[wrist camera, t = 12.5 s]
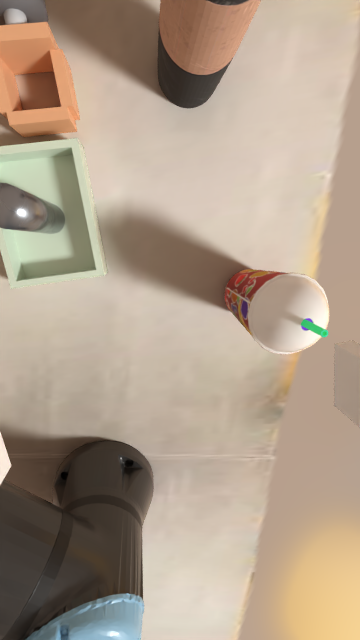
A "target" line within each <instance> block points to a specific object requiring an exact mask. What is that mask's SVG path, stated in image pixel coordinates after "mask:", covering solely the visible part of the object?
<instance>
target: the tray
mask: <svg viewBox="0 0 360 640" xmlns="http://www.w3.org/2000/svg"><path fill="white" fill-rule="evenodd" d="M0 183H7V184H11V185H13V186H15V187H17V188H19V189H22V190H24V191H26V192H28V193H30V194H33V195H35V196H37V197H39V198H41V199H44V200H46V201H48V202H50V203H52V204H55V205H57V206H58V207H59V208H60V209H61V210H62V211H63V213H64V216H65V225H64V227H63V229H62V230H61V231H59V232H58V233H55V234H46V233H37V232H28V231H19V230H10V229H3V228H0V251H1V255H2V259H3V262H4V266H5V269H6V273H7V276H8V280H9V284H10V287H11V289H14V288H21V287H28V286H35V285H42V284H49V283H56V282H63V281H70V280H77V279H84V278H91V277H98V276H104V275H105V274H106V273H107V266H106V261H105V256H104V251H103V246H102V240H101V235H100V230H99V225H98V219H97V214H96V209H95V204H94V199H93V193H92V188H91V183H90V178H89V172H88V167H87V162H86V157H85V152H84V147H83V146H82V144H81V143H80V141H79V140H78V138H73V139H64V140H55V141H45V142H36V143H27V144H17V145H8V146H0Z"/></svg>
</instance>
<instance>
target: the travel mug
mask: <svg viewBox="0 0 360 640" xmlns="http://www.w3.org/2000/svg"><path fill="white" fill-rule="evenodd" d="M260 2H261V0H161V4H160V15H159V37H158V79H159V83H160V86H161V88H162V90H163V92H164V94H165V95H166V97H167V98H168V99H169V100H170V101H171V102H173V103H174V104H176V105H177V106H180V107H183V108H194V107H197V106H200V105H202V104H203V103H205V102H206V101H207V100H208V99H209V98H210V96H211V95H212V94H213V92H214V90H215V89H216V87H217V85H218V83H219V82H220V80H221V78H222V76H223V75H224V73H225V71H226V69H227V67H228V66H229V64H230V62H231V60H232V59H233V57H234V55H235V53H236V51H237V49H238V47H239V45H240V43H241V41H242V39H243V37H244V35H245V33H246V31H247V28H248V26H249V24H250V22H251V20H252V18H253V16H254V14H255V12H256V10H257V8H258V6H259V4H260Z"/></svg>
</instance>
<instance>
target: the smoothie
mask: <svg viewBox="0 0 360 640" xmlns="http://www.w3.org/2000/svg"><path fill="white" fill-rule="evenodd" d="M224 296H225V303H226V305H227V307H228V308H229V310H230V311H231V312H232V313H233V315H234V316H235V317H236V318H237V319H238V320H239V321H240V323H241V324H242V325H243V326H244V327H245V328H246V330H247V331H248V332H249V333H250V334H251V335H252V337H253V338H254V340H255V341H256V342H257V343H258V344H259V345H260V346H261V347H262V348H264V349H266V350H268V351H270V352H272V353H276V354H290V353H295V352H299V351H301V350H304V349H306V348H308V347H310V346H312V345H313V344H315V343H316V342H317V341H318V340H319V339H320V338H321V337H326V336H327V335H328V331H327V330H326V328H327V325H328V321H329V306H328V300H327V297H326V294H325V292H324V290H323V288H322V287H321V286H320V285H319V284H318V282H317V281H316V280H314V279H312V278H311V277H309V276H307V275H305V274H298V273H283V272H273V271H263V270H253V269H247V270H242V271H240V272H238V273H237V274H235V275H234V276H233V277H232V278H231V279H230V280H229V282H228V284H227V286H226V288H225V295H224Z"/></svg>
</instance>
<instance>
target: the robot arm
mask: <svg viewBox="0 0 360 640" xmlns="http://www.w3.org/2000/svg"><path fill="white" fill-rule="evenodd" d="M334 362H335V364H334V366H335V367H334V376H335V377H334V378H335V380H334V405H335V407H337V408H338V409H339V410H340V411H341V412H342V413H344V414H345V415H346V416H347V417H348V418H349V419H350V420H352V421H353V422H354V423H355V424H356V425H358V427H360V344H359V343H357V342H355V341H348V342H342V343H337V344H335V361H334ZM10 467H11V463H10V460H9V457H8V454H7V451H6V448H5V445H4V442H3V438H2V435H1V432H0V640H141V631H142V616H143V612H144V603H143V602H144V601H143V564H142V525H143V523H144V520H145V517H146V514H147V512H148V509H149V506H150V503H151V500H152V497H153V489H154V486H153V472H152V469H151V466H150V464H149V462H148V461H147V459H146V458H145V457H144V456H143V455H142V454H141V453H140V452H139V451H138V450H136V449H135V448H133V447H131V446H129V445H127V444H124V443H120V442H115V441H99V442H93V443H90V444H87V445H84V446H82V447H80V448H78V449H76V450H75V451H73V452H72V453H71V454H69V455H68V456H67V457H66V459H65V460H64V461H63V462H62V464H61V466H60V467H59V470H58V472H57V475H56V478H55V481H54V484H53V491H52V497H53V504H52V503H50V502H48V501H46V500H44V499H42V498H40V497H38V496H35V495H33V494H31V493H29V492H27V491H25V490H23V489H21V488H19V487H17V486H16V485H14V484H12V483H10V482H8V481H6V480H4V478H5V476H6V474H7V473H8V471H9V469H10Z"/></svg>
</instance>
